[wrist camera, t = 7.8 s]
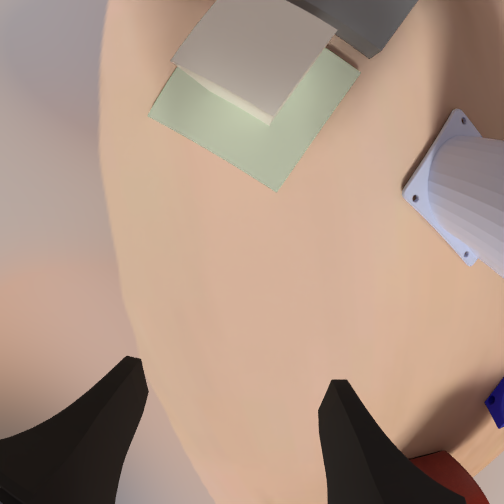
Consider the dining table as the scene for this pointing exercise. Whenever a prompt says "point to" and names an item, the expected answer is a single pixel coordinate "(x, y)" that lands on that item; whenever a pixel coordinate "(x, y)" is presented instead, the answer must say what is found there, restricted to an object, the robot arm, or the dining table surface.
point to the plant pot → (451, 476)
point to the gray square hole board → (361, 20)
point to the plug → (253, 52)
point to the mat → (249, 127)
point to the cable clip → (497, 404)
